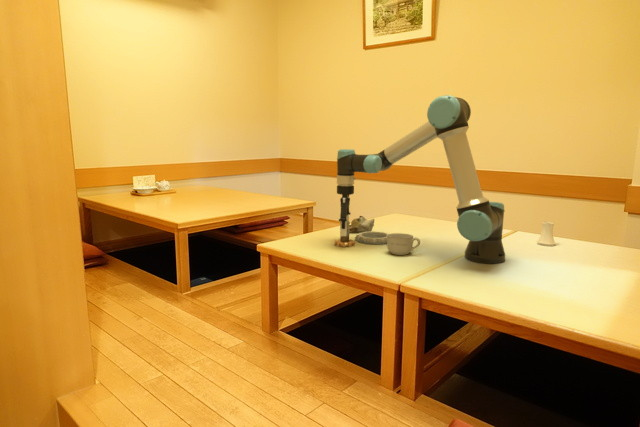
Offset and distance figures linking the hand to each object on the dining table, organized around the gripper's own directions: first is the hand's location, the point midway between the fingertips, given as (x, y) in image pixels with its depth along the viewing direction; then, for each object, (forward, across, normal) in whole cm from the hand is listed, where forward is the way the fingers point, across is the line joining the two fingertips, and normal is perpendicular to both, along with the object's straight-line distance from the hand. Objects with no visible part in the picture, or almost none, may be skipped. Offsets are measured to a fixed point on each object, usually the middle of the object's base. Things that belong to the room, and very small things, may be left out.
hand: (344, 232), depth 195 cm
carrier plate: (+6, +11, -13) cm, 18 cm away
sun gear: (+6, 0, 0) cm, 6 cm away
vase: (+5, +14, -90) cm, 91 cm away
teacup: (+6, -12, -25) cm, 29 cm away
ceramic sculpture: (+6, +27, -6) cm, 28 cm away
